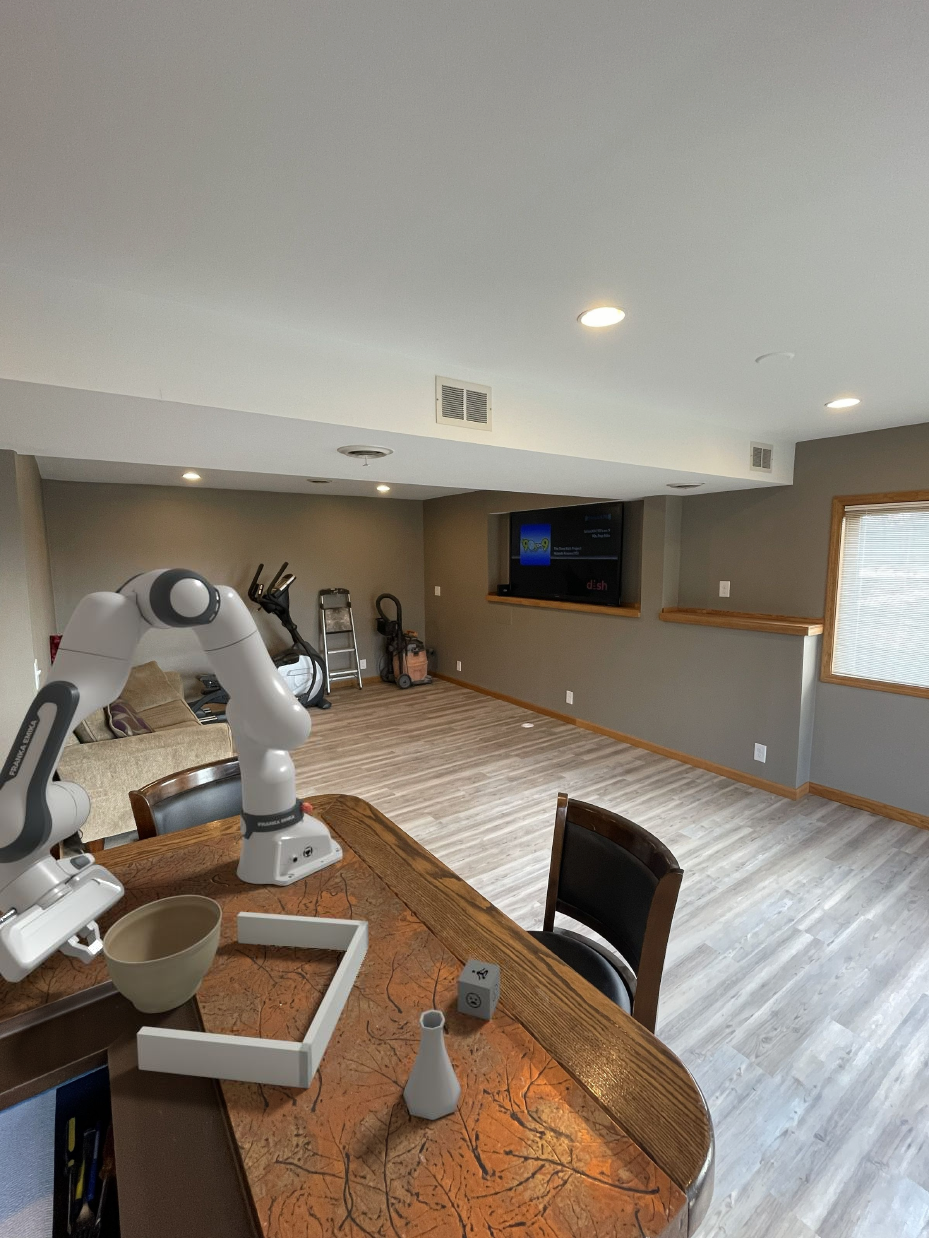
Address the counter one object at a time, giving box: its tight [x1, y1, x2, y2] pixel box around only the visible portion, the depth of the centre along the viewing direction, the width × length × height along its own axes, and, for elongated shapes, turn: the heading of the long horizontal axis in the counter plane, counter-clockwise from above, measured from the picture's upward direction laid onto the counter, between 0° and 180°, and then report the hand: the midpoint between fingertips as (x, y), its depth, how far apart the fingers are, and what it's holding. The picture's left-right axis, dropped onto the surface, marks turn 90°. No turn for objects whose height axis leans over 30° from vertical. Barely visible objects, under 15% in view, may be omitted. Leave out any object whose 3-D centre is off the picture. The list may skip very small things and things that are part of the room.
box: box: [136, 911, 370, 1089], centre depth 85 cm, size 23×26×5 cm
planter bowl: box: [102, 894, 223, 1014], centre depth 87 cm, size 16×16×11 cm
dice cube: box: [457, 958, 501, 1022], centre depth 84 cm, size 5×5×5 cm
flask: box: [403, 1009, 462, 1121], centre depth 70 cm, size 7×7×10 cm
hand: (96, 955), depth 88 cm, fingers closed
